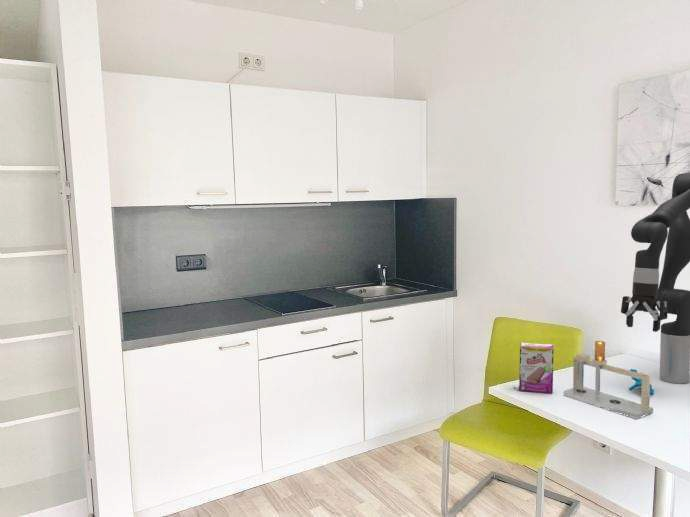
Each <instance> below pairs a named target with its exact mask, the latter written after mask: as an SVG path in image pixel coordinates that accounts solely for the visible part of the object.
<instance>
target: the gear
mask: <svg viewBox="0 0 690 517" xmlns="http://www.w3.org/2000/svg"><path fill="white" fill-rule="evenodd" d="M629 371H633V372H637V373H638V370H637V369H633V368H631V369H629ZM630 378H631V379H632V380H633V381H635V382H634V385H632V386H630V387H629V388H628V390H629V391H634V390H635V389H636V387H637V388H639V387H640V390H641V391H642V380H641V379H637V378H634V377H630ZM654 392H655V390H654V388H653V386H652V384H651V383H650V395H651V396H652V395H654V394H655V393H654Z"/></svg>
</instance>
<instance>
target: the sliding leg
mask: <svg viewBox="0 0 690 517" xmlns="http://www.w3.org/2000/svg"><path fill="white" fill-rule="evenodd" d="M607 360H608V359H606V342H605V341H603V340H594V358H593V359H592V360H591V361H592V363H593V364H596V367H595V387H594V388H595V389H594V390H595V395H600V392H601V369H600V365H604V364H606V365H608V364H607V363H608V361H607Z"/></svg>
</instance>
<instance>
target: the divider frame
mask: <svg viewBox="0 0 690 517" xmlns="http://www.w3.org/2000/svg"><path fill="white" fill-rule="evenodd" d="M590 357H591V355H590V354H589V355H588V354H584V353H578V354H576V356H575V357H573V363H572V364H573V366H572V367H573V368H572V369H573V372H572V373H573V375H572V376H573V377H572V378H573V380H572V381H573V384H572V388H569V389H565V390H563V396H565V397H567V396H568V398H570V397H571V398H570V399H573V398H574V399H573V400H576V399H577V400H576V401H579V400H581V401H580V402H582V401H584V402H583V403H585V402H586V404H588V403H590V404H589V405H591V404H593V405H592V406H594V405H596V406H595V407H597V406H600V407H603V408H606V409H609V410H612V411H615V412H618V413H622V414H625V415H628V416H631V417H634V418H636V419H637V418H639V417H641V416H643V415H646V414H648V415H650V414H649V413H651V414H653V413H654V407H651V406H650V384H651V375H649V374H646V373H641V372H638V371H637V372H633V371H630V369H626V368H625V369H624V368H620V367H616V366H613V365H610V364H604V365H600V370H604V371H607V372H612V373H615V374H619V375H623V376H627V377H630V378H631V377H634V378H637V379H641V380H642V390H641V396H640V398H641V399H640V400H641V401H640V403H638V402H635V401H631V400H628V399H625V398H621V397H619V396H616V395H612V394H609V393H606V392H603V391H600V395H595V389H592V388H589V387H586V386H584V379H585V378H584V374H585V373H584V370H585V369H584V367H585V366H588V367H593V368H596V364H593V363H592V360H590V359H591V358H590ZM600 407H599V408H600ZM603 408H602V409H603ZM606 409H605V410H606ZM609 410H608V411H609ZM612 411H611V412H612ZM615 412H614V413H615ZM652 412H653V413H652ZM618 413H617V414H618ZM646 416H647V415H646ZM641 418H642V417H641ZM636 419H635V420H636ZM639 419H640V418H639ZM637 420H638V419H637Z"/></svg>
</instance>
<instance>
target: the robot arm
mask: <svg viewBox="0 0 690 517" xmlns="http://www.w3.org/2000/svg"><path fill="white" fill-rule="evenodd" d="M671 191H672V192H671V198H670V199H667V200H666V201H665V202H663V203H661V204H660V205H659V206H658V207H657V208H656V209H655V210H654V211H653V212H652V213H651V214H648V215H646V216H644V217H642V218H641V219H639V220H638V221H637V222H635V223H634V225H633V226H632V228H631V231H630V235H631V239H632V240H633V241H634V242H636V243H640V244H649V246H648V248H646V249H641V250H638V251H637V252H636V253H635V259H634V260H635V262H634V271H633V275H632V288H631V290H632V292H631V293H632V296H631V297H630V296H628V295H626V296H624V295H623V296H622V299H621V300H622V301H621V307H620V308H621V309H620V312H621V314H623V315H625V316H626V318H625V319H626V321H625V322H626V323H625V324H626V327H627V328H633V327H634V316H633V315H634V314H635V313H637V312H644V313H648V314H649V315H651V316H652V318H653V322H652V332H654V333H657V332H658V331H659V330H660V344H659V345H660V346H659V350H660V351H659V379H660V380H662V381H664V382H668V383H672V384H687V383H690V290H689V289H681V288H675V284H676V282H677V278H678V276H679V274H681V272H682V271H683V270H684V269H685V268H686V266H687V265H688V264H689V263H690V217H689V214H688V211H689V209H690V172H687V173H686V172H683V173H678V174H677V175H676V176H675V177H674V180H673V183H672V189H671ZM665 243H666V246H665ZM664 246H665V255H664V261H663V267H662V268H663V269H662V273H661V275H660V257H661V254H662V251H663V249H664ZM660 276H661V277H660ZM630 303H632V305H631V307H630ZM669 314H670V315H676V319H675V320H674V321H670V322H664V323H662V324H661V322H662V321H663V320H667V319H668V315H669Z"/></svg>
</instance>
